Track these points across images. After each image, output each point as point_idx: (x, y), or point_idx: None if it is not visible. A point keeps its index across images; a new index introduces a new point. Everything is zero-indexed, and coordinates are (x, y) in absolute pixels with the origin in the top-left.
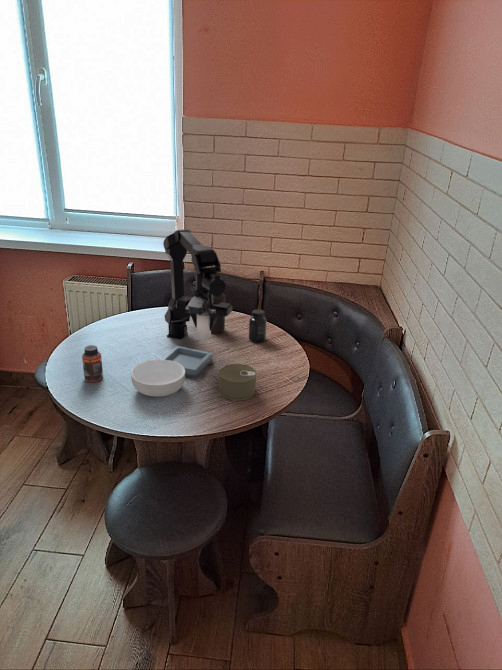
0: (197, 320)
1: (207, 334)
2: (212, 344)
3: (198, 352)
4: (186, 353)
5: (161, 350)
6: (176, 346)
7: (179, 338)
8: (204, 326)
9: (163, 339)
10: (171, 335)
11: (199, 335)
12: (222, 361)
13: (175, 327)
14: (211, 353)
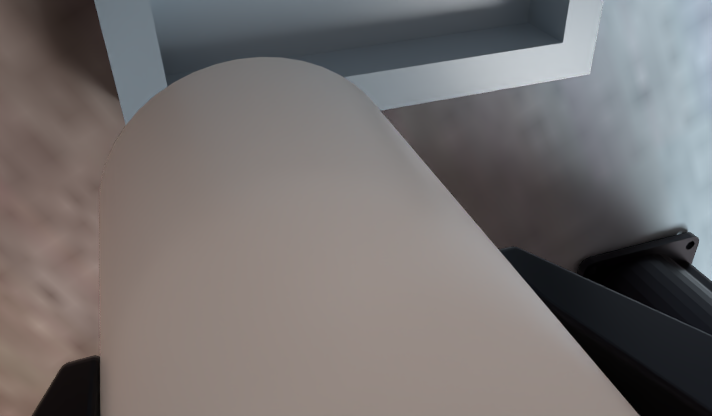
0: (618, 411)
1: (115, 217)
2: None
3: None
4: (440, 40)
5: (684, 10)
6: (589, 58)
7: (598, 261)
8: (210, 331)
9: (704, 188)
10: (667, 257)
11: (302, 96)
12: (3, 156)
13: (695, 318)
14: None
